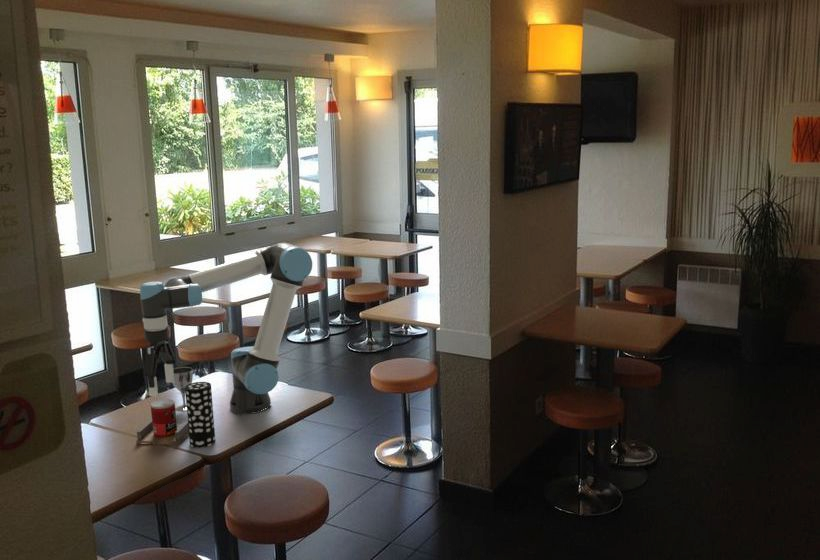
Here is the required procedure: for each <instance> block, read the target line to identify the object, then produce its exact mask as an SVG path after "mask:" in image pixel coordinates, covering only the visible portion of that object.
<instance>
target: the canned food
mask: <svg viewBox="0 0 820 560" xmlns="http://www.w3.org/2000/svg"><path fill="white" fill-rule="evenodd" d="M175 408H176V403H175V400H173V399H168V398H165V399H164V398H163V399H157V400H155V401H152V402H151V403H150V412H151V414H150V415H151V419H152V424H153V433H154V435H155V436H157V437H169V436H172V435H174V434H175V432H176V431H177V426H178V421H177V413H176V410H175Z"/></svg>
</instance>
